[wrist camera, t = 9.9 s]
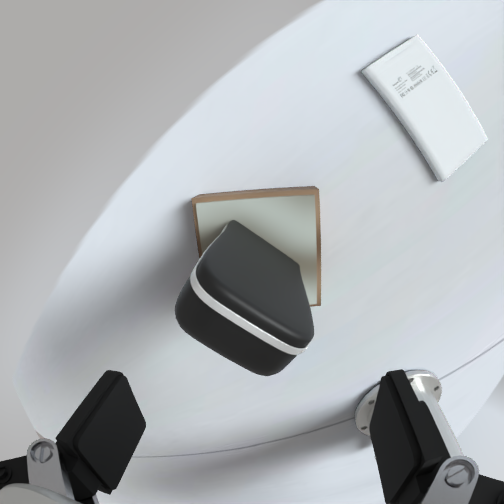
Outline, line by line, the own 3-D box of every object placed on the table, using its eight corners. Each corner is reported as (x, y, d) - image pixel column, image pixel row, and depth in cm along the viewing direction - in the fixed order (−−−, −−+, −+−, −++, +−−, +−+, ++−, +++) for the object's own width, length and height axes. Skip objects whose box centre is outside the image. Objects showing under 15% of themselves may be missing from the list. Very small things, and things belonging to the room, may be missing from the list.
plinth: (317, 292, 27) (321, 307, 25) (213, 297, 28) (206, 312, 26) (314, 186, 24) (319, 189, 22) (199, 194, 25) (190, 199, 23)
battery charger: (205, 253, 24) (153, 328, 13) (230, 215, 23) (191, 268, 12) (275, 299, 25) (273, 397, 14) (303, 265, 24) (323, 351, 13)
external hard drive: (435, 180, 24) (358, 73, 21) (480, 138, 22) (412, 37, 19) (443, 182, 22) (364, 68, 20) (489, 138, 20) (419, 32, 18)
